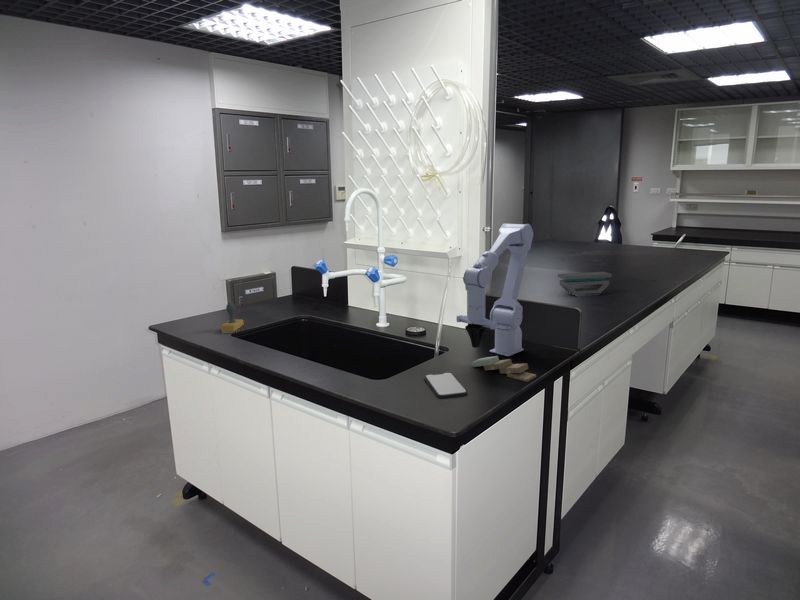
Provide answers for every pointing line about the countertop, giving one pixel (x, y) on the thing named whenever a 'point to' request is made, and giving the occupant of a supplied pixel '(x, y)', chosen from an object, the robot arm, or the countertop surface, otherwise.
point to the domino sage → (485, 361)
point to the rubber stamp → (231, 320)
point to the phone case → (445, 385)
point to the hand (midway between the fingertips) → (475, 346)
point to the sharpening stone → (585, 282)
